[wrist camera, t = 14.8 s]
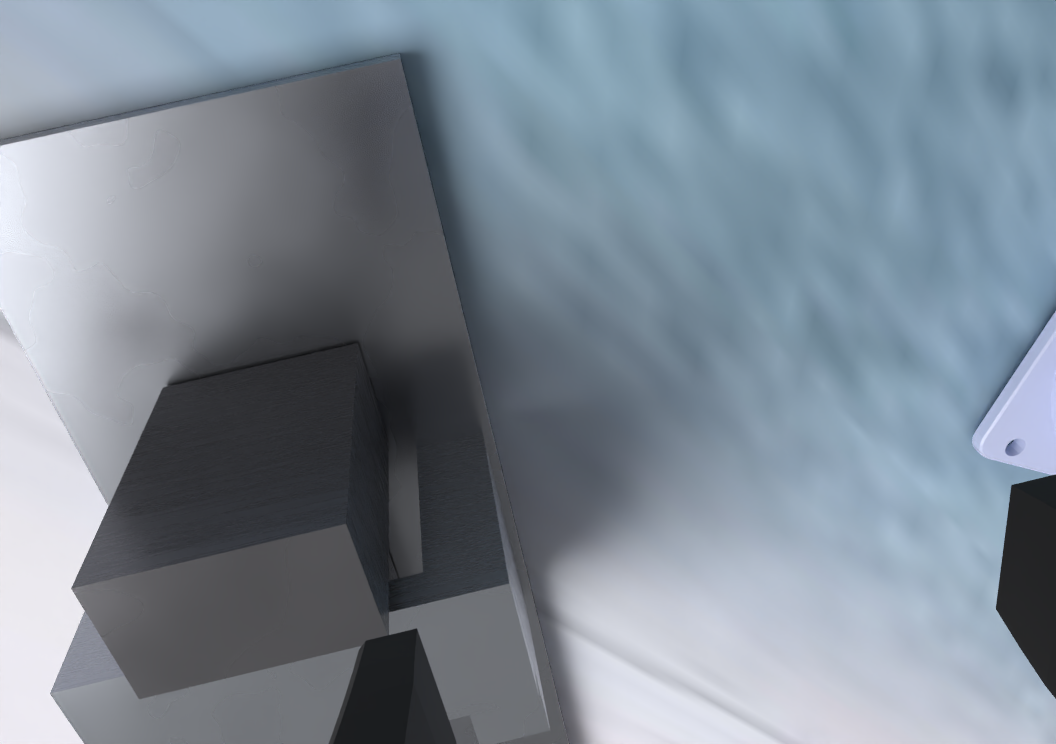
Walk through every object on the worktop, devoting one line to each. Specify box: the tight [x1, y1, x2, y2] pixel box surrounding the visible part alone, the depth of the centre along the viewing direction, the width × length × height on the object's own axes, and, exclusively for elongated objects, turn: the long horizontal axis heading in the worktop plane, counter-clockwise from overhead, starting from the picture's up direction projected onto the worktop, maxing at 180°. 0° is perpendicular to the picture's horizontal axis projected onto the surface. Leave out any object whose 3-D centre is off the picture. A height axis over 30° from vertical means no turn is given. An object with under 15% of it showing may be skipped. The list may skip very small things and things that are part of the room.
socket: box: [0, 53, 569, 744], centre depth 18 cm, size 20×8×5 cm, turn 10°
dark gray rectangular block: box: [71, 343, 398, 699], centre depth 17 cm, size 8×4×6 cm, turn 10°
